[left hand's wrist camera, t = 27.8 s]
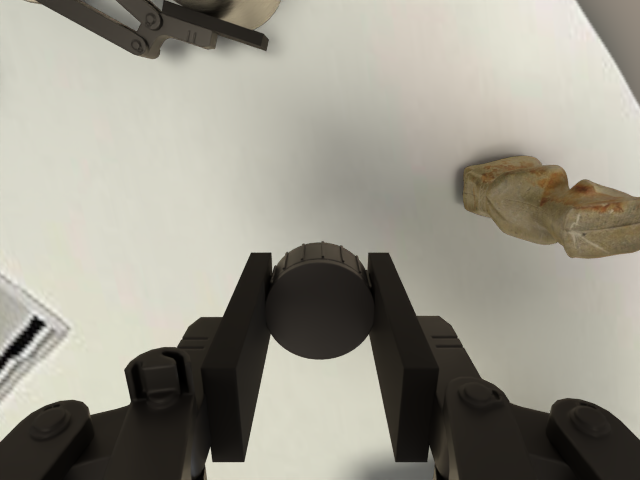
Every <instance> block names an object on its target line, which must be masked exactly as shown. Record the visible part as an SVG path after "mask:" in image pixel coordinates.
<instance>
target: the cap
mask: <svg viewBox="0 0 640 480" xmlns="http://www.w3.org/2000/svg"><path fill="white" fill-rule="evenodd" d="M371 289H372V285H371V281H370V277H369V274H368V271H367V270H365V268H364V266H363V264H362V263H361V262H360V260H359V259H358V256H357V255H356V256H355V255H354V254H352V253H351V252H350V251H348V250H346V249H345V248H343V246H341V245H340V246H338V245H334V244H330V243H324V241H322V242H321V243H309V244H302V246H300V247H297V248H295V249H293V250H292V251H290V252H289V253H288V252H286V254H285V256H284V257H283V258H282V259H281V260H280V262H279V263H278V264H277V266H276V265H275V266H274V269H273V273H272V277H271V280H270V286H269V290H268V294H267V297H266V301H265V310H266V324H267V327H268V329H269V331H270V333H271V335H272V336H273V337H274V339H275V340H276V341H277V342H278V343H279V344H280V345H281V346H282V347H283V348H285V349H286V350H288V351H289V352H291V353H293V354H295V355H298V356H301V357H304V358H308V359H321V360H323V359H331V358H336V357H339V356H342V355H344V354H347V353H349V352H350V351H352V350H354V349H355V348H356V347H358V346H359V345H360V344H361V343H362V342H363V341H364V340H365V339H366V337H367V336H368V334H369V333H370V331H371V329H372V326H373V322H374V304H375V302H374V298H373V294H372V290H371Z"/></svg>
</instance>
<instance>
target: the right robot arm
mask: <svg viewBox="0 0 640 480" xmlns="http://www.w3.org/2000/svg"><path fill="white" fill-rule="evenodd" d="M24 1H27V2H31V3H37V4H43V5H44V6H46V7H48V8H50V9H52V10H54V11H55V12H57V13H59V14H61V15H63V16H65V17H66V18H68V19H70V20H72V21H74V22H76V23H77V24H79V25H81V26H83V27H85V28H86V29H88V30H90V31H92V32H94V33H96V34H97V35H99V36H101V37H103V38H105V39H107V40H108V41H110V42H112V43H114V44H116V45H118V46H119V47H121V48H123V49H125V50H127V51H129V52H130V53H132V54H134V55H137V56H141V57H146V58H150V59H156V58H157V57H158V56H159V55H160V47H161V45H162V44H163V42H164V41H165V40H166V39H168V38H175V39H178V40H181V41H184V42H187V43H190V44H193V45H196V46H199V47H202V48H205V49H215V46H216V41H217V36H218V35H220V36H223V37H226V38H229V39H232V40H235V41H238V42H241V43H244V44H247V45H250V46H253V47H256V48H259V49H262V50H265V51H266V50H267V46H268V41H269V40H268V38H267V37H266V36H265V35H264V34H262V33H259V32H257V31H254V30H251V29H248V28H245V27H242V26H239V25H236V24H233V23H230V22H227V21H224V20H221V19H218V18H215V17H212V16H209V15H206V14H204V13H201V12H198V11H195V10H192V9H189V8H186V7H183V6H180V5H177V4H174V3H171V2H168V1H165V0H164V2H163V9H162V11H161V10H160V9H159V8H158V7H157V6H155V5H154V4H153V3H152V2H151V1H150V0H116V1H117V2H118V3H119V4H121V5H122V6H123V7H124V8H125V9H126V10H127V11H128V12H130V13H131V14H132V15H133V16H134V17H135V18H136V19H137V20H138V21H140V22H141V25H140V26H139V28H138V30H137V32H136V31H135V30H133V29H131V28H129V27H128V26H126V25H124V24H122V23H120V22H119V21H117V20H115V19H113V18H111V17H110V16H108V15H106V14H104V13H102V12H101V11H99V10H97V9H95V8H93V7H92V6H90V5H88V4H86V3H84V2H83V1H81V0H24Z"/></svg>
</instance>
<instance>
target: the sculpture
mask: <svg viewBox="0 0 640 480" xmlns="http://www.w3.org/2000/svg"><path fill="white" fill-rule="evenodd" d="M463 181H464V189H463V202H464V207H465V209H466V210H468V211H470V212H473V213H475V214H478V215H482V216H486V217H490V218H492V219H493V221H494V222H495V223H496V225H497V226H498V227H499V228H500V229H501V230H502V231H503V232H504V233H506V234H508V235H511V236H514V237H517V238H520V239H523V240H527V241H530V242H533V243H537V244H542V245H550V244H554V243H557V242H558V243H560V244H561V245H562V246H564V249H565V251H566V253H567V255H568V256H569V257H571V258H587V259H589V258H601V257H606V256H612V255H618V254H626V253H633V252H636V251H639V250H640V197H633V196H631V195H629V194H626V193H624V192H621V191H618V190H615V189H612V188H609V187H605V186H601V185H599V184H596V183H593V182H591V181H589V180H581V181H580V182H578V183H577V184H576V185H575V186H573V187H572V188H571V189H569V186H568V179H567V175H566V172H565V171H564V169H563V168H562V167H560V166H557V165H545V166H542V164H541V163H540V161H539V160H538V159H536V158H534V157H530V156H515V157H509V158H504V159H500V160H496V161H493V162H489V163H485V164H479V165H472V166H469V167H466V168H465V170H464V175H463Z"/></svg>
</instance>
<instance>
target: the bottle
mask: <svg viewBox="0 0 640 480" xmlns="http://www.w3.org/2000/svg"><path fill="white" fill-rule="evenodd" d="M174 1H176V2H177V3H178V4H180V5H181V6H183V7H186V8H189V9H192V10H195V11H198V12H201V13H204V14H206V15H209V16H212V17H215V18H218V19H221V20H224V21H227V22H230V23H233V24H236V25H239V26H242V27H245V28H248V29H251V30H253V29H256V28H258V27H259V26H261V25H262V24H264V23H265V22H266V21H267V20H268V19H270V17H271V16H272V15H273V14H274V12H275V11H276V9H277V8H278V6H279V4H280V1H281V0H174Z"/></svg>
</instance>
